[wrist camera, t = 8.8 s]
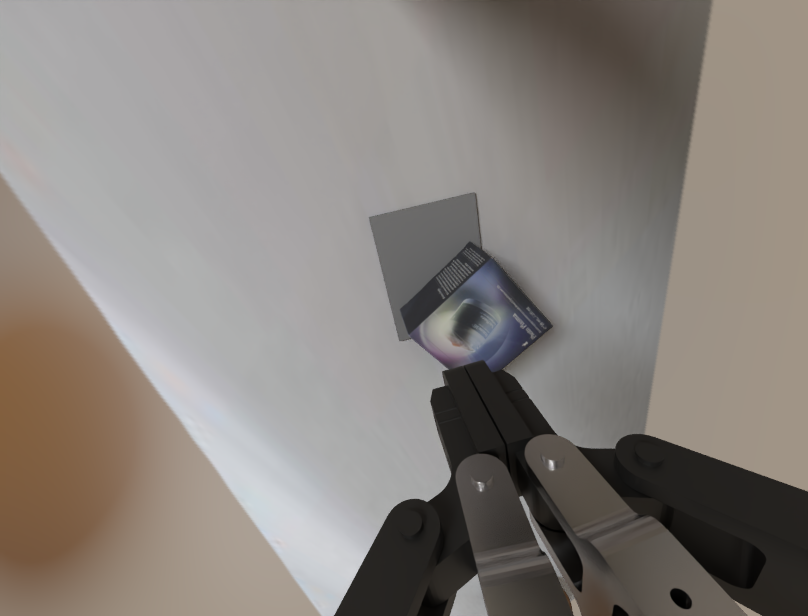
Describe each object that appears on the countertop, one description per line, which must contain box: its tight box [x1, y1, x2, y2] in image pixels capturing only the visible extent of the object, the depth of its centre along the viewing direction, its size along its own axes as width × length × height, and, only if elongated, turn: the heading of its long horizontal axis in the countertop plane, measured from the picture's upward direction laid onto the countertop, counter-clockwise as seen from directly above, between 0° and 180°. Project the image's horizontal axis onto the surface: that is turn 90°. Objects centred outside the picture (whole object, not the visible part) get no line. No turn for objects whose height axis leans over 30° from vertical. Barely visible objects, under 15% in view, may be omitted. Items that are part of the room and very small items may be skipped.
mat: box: [369, 193, 481, 341], centre depth 36 cm, size 14×10×1 cm
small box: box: [400, 241, 553, 372], centre depth 35 cm, size 11×6×10 cm
